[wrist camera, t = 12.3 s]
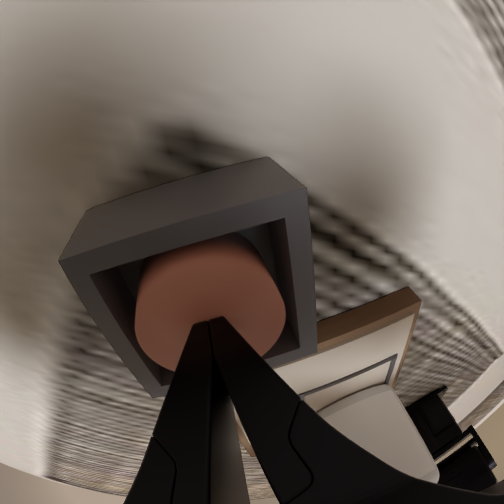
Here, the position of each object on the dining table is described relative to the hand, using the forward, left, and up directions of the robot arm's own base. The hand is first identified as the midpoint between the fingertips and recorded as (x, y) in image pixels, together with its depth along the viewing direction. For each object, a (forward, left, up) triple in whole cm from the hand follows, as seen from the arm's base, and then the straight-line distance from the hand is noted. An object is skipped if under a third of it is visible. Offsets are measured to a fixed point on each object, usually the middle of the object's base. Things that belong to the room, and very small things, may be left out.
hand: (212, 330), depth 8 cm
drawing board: (-11, -4, -3) cm, 12 cm away
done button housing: (0, 0, -3) cm, 3 cm away
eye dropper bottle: (-12, -6, -2) cm, 14 cm away
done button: (0, 0, -2) cm, 2 cm away
